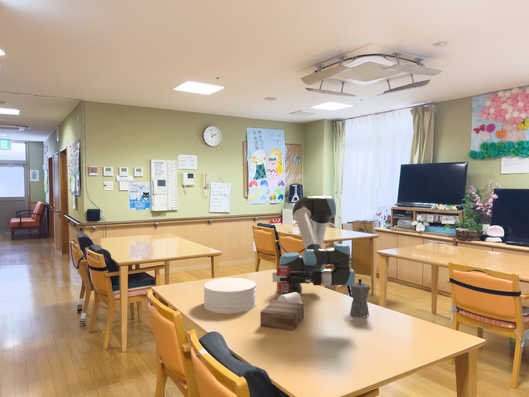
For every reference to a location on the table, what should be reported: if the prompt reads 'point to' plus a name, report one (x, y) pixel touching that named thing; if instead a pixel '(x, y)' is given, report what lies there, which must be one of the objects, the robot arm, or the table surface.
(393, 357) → the table surface
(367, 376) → the table surface
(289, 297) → the mug
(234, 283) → the plate stack
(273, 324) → the walnut block
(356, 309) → the coffeepot
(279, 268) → the beverage can
